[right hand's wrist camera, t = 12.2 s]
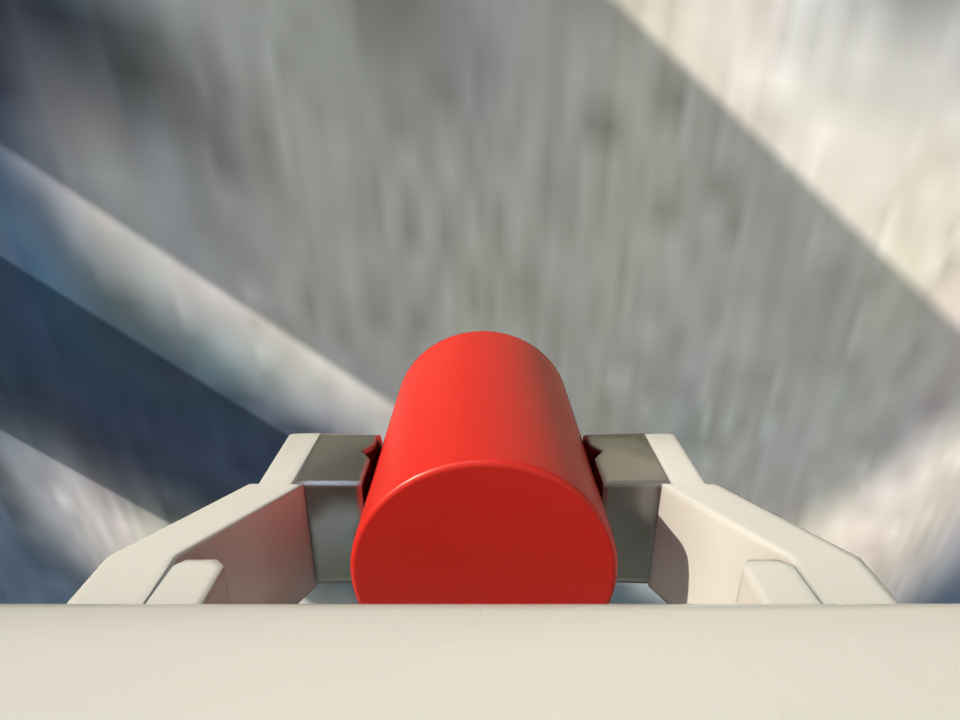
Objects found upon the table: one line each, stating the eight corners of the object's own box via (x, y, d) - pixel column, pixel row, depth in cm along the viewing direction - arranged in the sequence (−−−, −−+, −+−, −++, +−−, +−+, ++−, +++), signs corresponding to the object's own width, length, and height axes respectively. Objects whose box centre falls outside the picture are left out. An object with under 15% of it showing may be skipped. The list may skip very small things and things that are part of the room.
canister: (451, 297, 11) (431, 411, 7) (600, 383, 12) (674, 539, 7) (368, 436, 12) (304, 613, 8) (509, 507, 13) (525, 708, 8)
